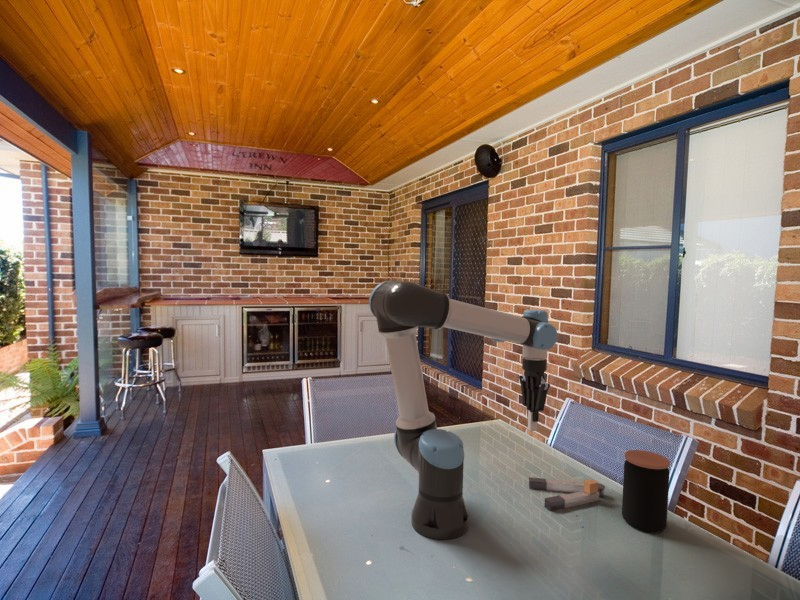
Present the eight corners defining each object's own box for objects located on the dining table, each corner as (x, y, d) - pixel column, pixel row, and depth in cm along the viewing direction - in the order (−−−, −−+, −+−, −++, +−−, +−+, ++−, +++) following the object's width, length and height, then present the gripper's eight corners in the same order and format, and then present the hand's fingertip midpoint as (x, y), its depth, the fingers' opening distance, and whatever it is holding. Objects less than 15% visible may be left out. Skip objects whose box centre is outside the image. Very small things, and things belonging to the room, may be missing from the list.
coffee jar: (655, 513, 126) (658, 450, 125) (674, 535, 116) (678, 467, 114) (615, 511, 127) (618, 448, 126) (631, 532, 117) (634, 464, 116)
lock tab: (591, 488, 135) (591, 479, 135) (597, 492, 133) (598, 482, 132) (583, 490, 134) (583, 480, 134) (589, 494, 131) (590, 484, 131)
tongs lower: (598, 491, 139) (598, 482, 138) (609, 498, 134) (610, 488, 134) (539, 503, 131) (540, 493, 131) (550, 511, 127) (550, 501, 126)
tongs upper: (587, 490, 139) (587, 482, 139) (589, 493, 137) (589, 485, 137) (528, 485, 142) (528, 477, 142) (529, 488, 140) (529, 480, 140)
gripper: (558, 361, 140) (555, 435, 141) (531, 353, 152) (529, 422, 153) (538, 362, 137) (535, 438, 138) (512, 355, 149) (510, 425, 151)
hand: (532, 430), depth 146 cm, fingers closed
